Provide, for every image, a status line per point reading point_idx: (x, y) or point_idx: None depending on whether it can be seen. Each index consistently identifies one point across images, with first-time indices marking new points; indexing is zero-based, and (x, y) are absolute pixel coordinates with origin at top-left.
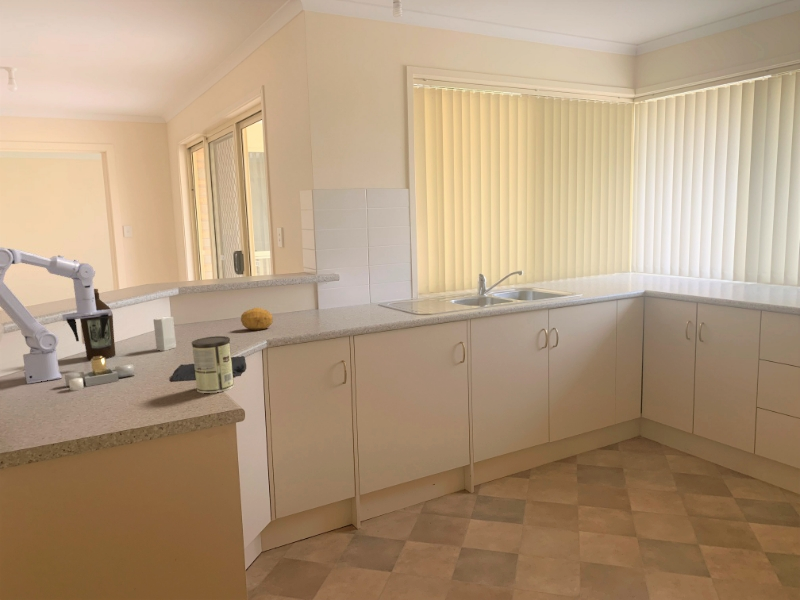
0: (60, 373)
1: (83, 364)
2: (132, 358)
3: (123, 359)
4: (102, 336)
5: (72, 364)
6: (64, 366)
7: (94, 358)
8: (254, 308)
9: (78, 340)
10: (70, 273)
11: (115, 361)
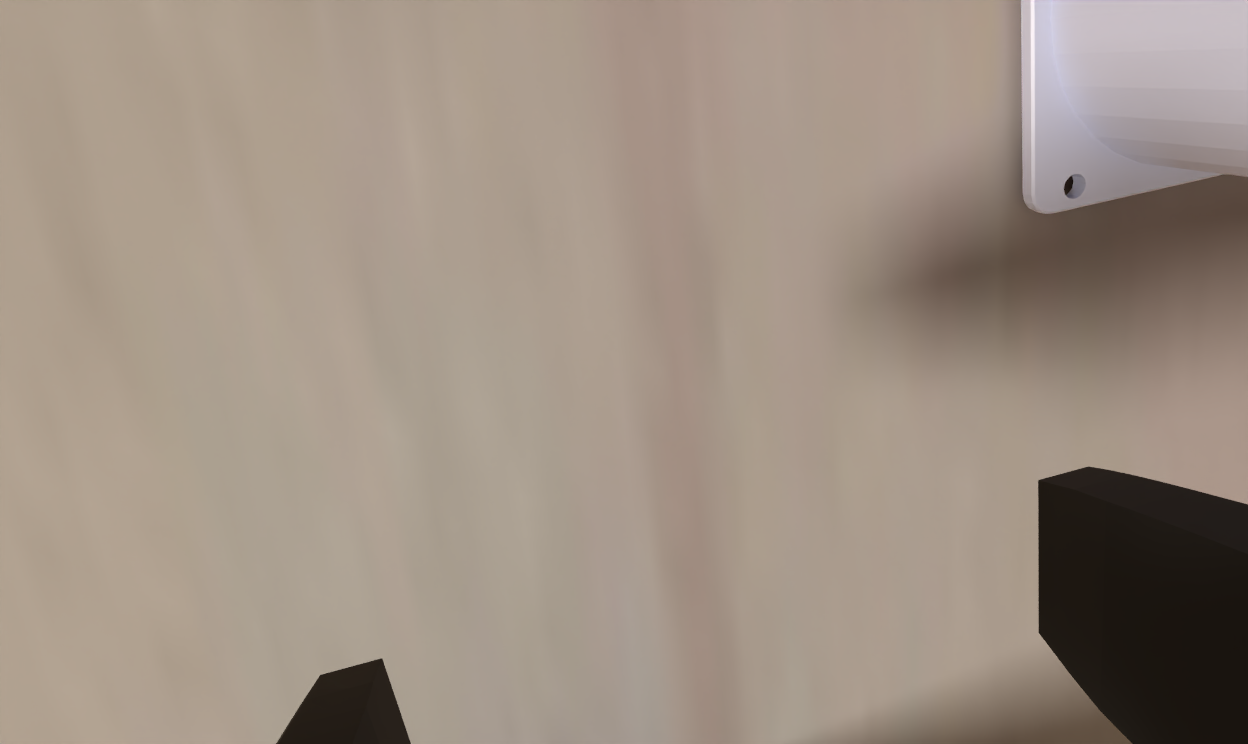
0: (1035, 105)
1: (748, 656)
2: (59, 741)
3: (206, 730)
4: (360, 688)
5: (875, 714)
6: (959, 648)
7: None
8: None
9: (1064, 481)
10: None
11: (314, 649)
